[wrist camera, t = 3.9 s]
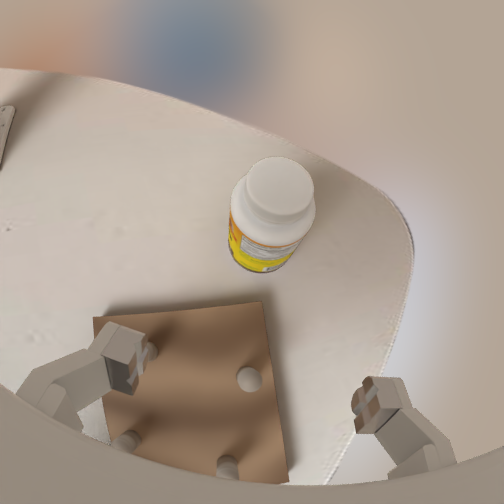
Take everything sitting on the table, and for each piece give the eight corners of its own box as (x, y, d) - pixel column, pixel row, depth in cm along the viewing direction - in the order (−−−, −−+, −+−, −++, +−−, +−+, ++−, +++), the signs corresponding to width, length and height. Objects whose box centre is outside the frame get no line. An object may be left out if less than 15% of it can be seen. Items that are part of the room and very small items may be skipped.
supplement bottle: (243, 207, 26) (255, 133, 17) (298, 231, 26) (337, 168, 16) (217, 260, 24) (214, 202, 15) (276, 286, 24) (312, 244, 15)
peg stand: (99, 318, 22) (76, 311, 17) (259, 303, 23) (267, 294, 19) (130, 485, 17) (115, 506, 12) (285, 475, 19) (298, 497, 14)
